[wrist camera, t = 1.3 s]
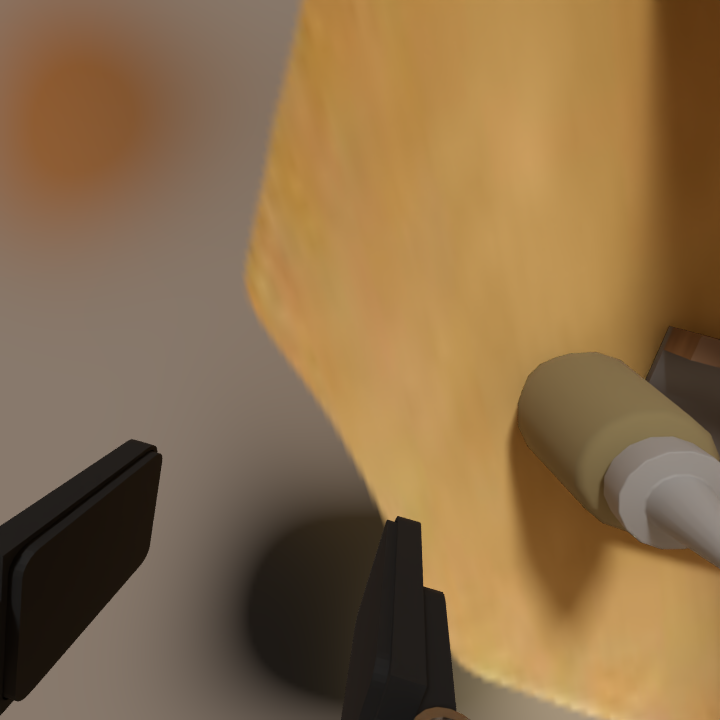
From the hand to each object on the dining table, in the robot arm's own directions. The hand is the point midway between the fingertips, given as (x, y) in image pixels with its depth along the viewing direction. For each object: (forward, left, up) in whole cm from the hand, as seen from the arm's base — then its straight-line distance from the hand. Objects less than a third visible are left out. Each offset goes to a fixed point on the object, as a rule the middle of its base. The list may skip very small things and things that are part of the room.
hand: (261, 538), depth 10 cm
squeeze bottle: (0, +15, -24) cm, 28 cm away
